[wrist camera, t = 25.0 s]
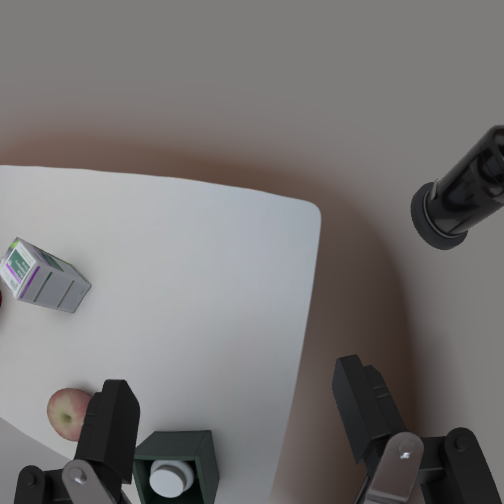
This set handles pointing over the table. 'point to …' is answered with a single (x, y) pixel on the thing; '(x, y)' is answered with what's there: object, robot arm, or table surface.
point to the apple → (68, 412)
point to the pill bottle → (172, 477)
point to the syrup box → (41, 277)
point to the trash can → (178, 449)
